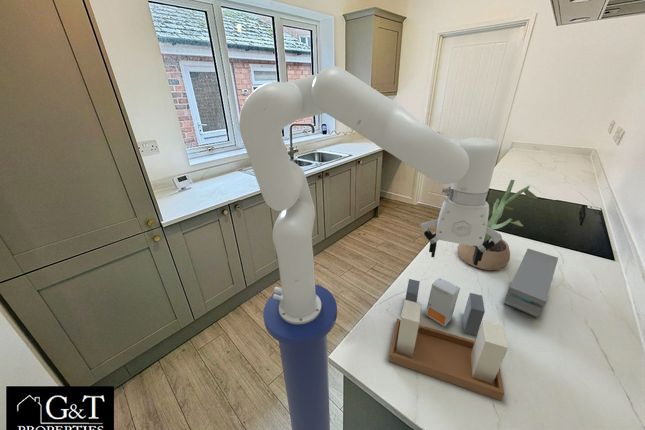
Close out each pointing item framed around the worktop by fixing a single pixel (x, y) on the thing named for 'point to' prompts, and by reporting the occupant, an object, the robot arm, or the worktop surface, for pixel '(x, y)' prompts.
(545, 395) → the worktop surface
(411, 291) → the grey carton
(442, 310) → the cosmetic box
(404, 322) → the cream box left
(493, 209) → the potted plant
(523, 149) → the worktop surface
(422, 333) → the tray
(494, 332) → the cream box right
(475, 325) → the grey carton
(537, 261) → the grey rectangular box
